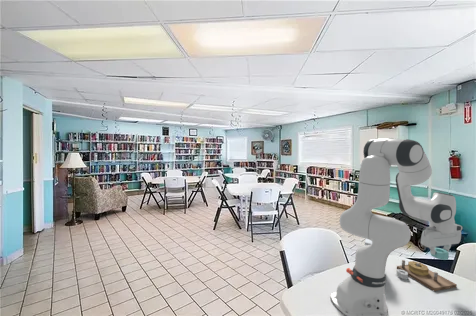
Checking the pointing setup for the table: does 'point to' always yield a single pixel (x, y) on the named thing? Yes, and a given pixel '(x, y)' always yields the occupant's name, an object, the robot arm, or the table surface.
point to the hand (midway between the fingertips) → (439, 253)
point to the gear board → (426, 276)
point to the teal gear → (441, 254)
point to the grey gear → (402, 274)
